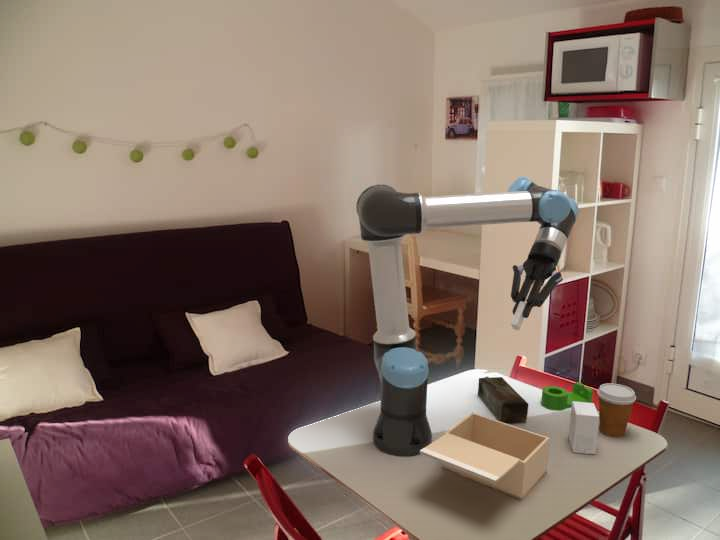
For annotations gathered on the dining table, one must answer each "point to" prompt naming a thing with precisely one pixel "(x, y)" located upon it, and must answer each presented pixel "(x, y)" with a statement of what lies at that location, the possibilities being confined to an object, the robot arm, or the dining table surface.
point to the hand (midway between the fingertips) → (515, 326)
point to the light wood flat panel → (470, 457)
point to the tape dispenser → (565, 396)
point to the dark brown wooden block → (502, 400)
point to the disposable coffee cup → (615, 408)
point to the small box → (583, 427)
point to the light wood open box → (506, 452)
